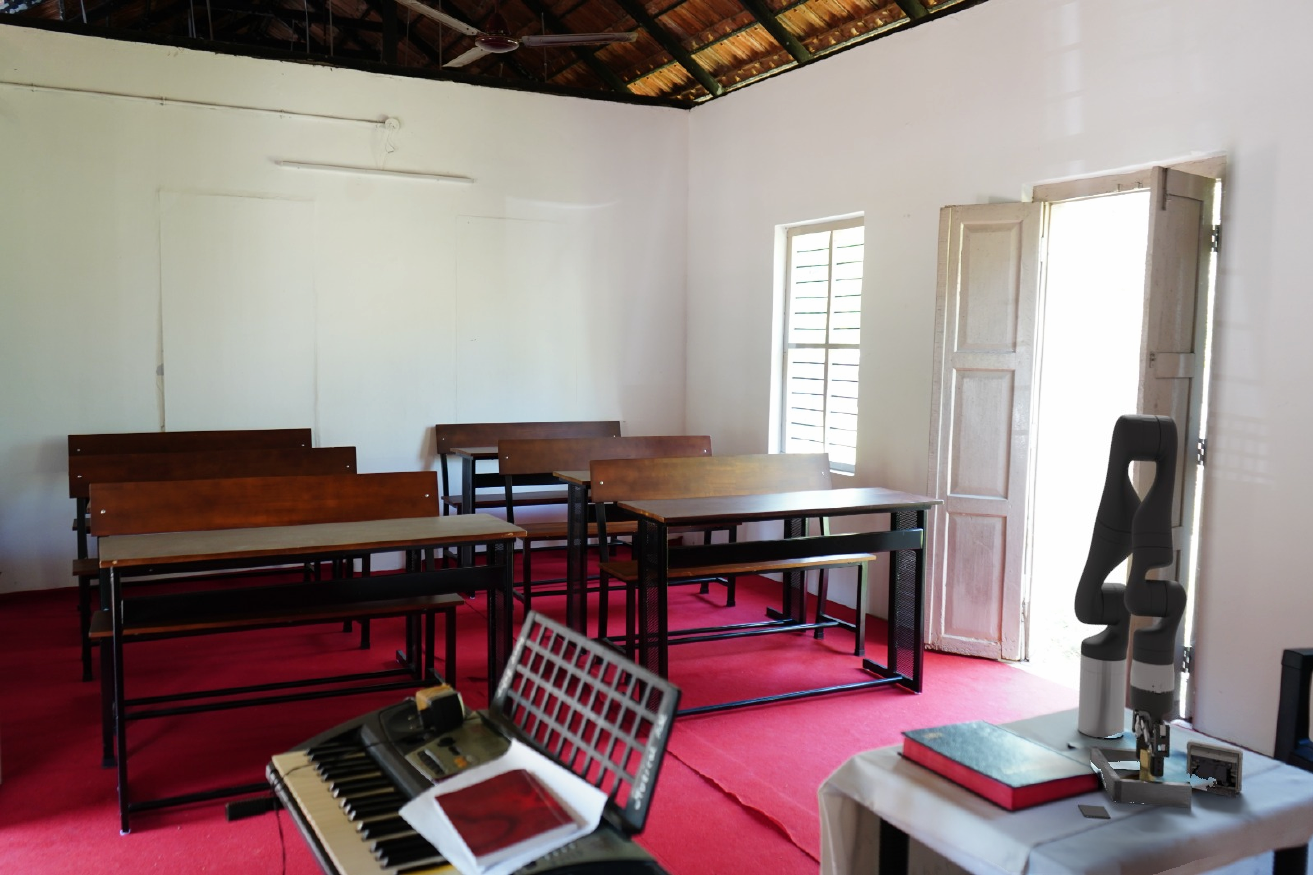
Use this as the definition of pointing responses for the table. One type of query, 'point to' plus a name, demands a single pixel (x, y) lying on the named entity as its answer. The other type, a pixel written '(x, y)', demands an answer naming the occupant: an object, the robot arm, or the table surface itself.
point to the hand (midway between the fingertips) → (1149, 767)
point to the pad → (1094, 811)
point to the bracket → (1137, 781)
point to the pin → (1145, 765)
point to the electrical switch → (1216, 766)
